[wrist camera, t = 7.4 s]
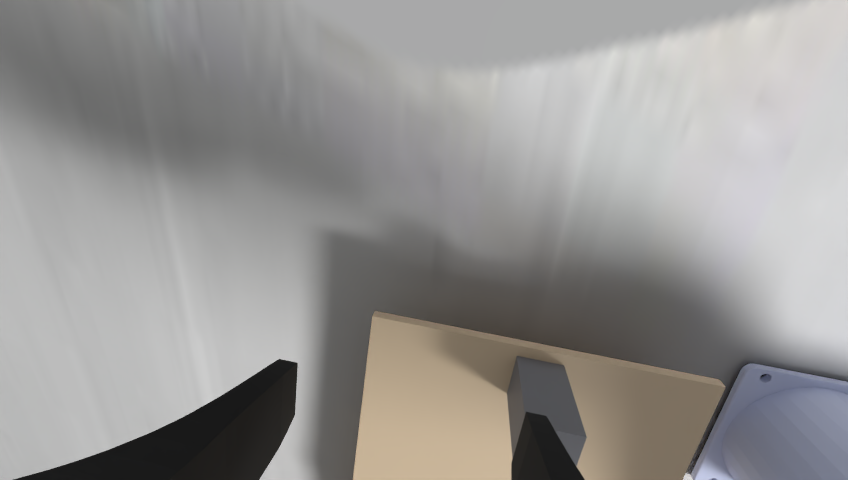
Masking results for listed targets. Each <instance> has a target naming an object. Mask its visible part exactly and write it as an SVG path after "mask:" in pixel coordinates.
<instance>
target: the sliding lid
mask: <svg viewBox="0 0 848 480" xmlns="http://www.w3.org/2000/svg"><path fill="white" fill-rule="evenodd" d="M725 388H726V387H725V385H724V384H723V383H722V382H721V381H720V380H719V379H715V378H710V377H705V376H700V375H695V374H690V373H685V372H680V371H675V370H670V369H665V368H660V367H655V366H650V365H645V364H640V363H635V362H630V361H625V360H620V359H615V358H609V357H604V356H599V355H594V354H589V353H584V352H579V351H574V350H569V349H564V348H559V347H554V346H549V345H544V344H539V343H534V342H529V341H524V340H519V339H514V338H509V337H504V336H499V335H494V334H489V333H484V332H479V331H474V330H469V329H464V328H459V327H454V326H449V325H444V324H439V323H434V322H429V321H424V320H419V319H414V318H409V317H404V316H399V315H394V314H389V313H384V312H379V311H375V312H374V314H373V316H372V322H371V331H370V339H369V348H368V356H367V364H366V373H365V381H364V389H363V398H362V406H361V414H360V423H359V431H358V440H357V448H356V456H355V465H354V473H353V480H511V463H512V459H513V456H514V452H515V449H516V445H517V442H518V438H519V435H520V431H521V428H522V424H523V420H524V417H525V413H526V412H530V413H535V414H540V415H544V416H547V418H548V419H549V421H550V423H551V424H552V426H553V428H554V430H555V431H556V433H557V435H558V437H559V438H560V440H561V442H562V443H563V445H564V447H565V448H566V450H567V452H568V454H569V455H570V457H571V459H572V460H573V462H574V463H575V465H576V467H577V468H578V470H579V471H580V473H581V474H582V476H583V478H584V479H585V480H682V479H683V477H684V475H685V473H686V471H687V469H688V467H689V464H690V462H691V460H692V458H693V456H694V454H695V452H696V450H697V448H698V445H699V443H700V441H701V439H702V437H703V435H704V433H705V431H706V428H707V426H708V424H709V422H710V420H711V418H712V416H713V414H714V411H715V409H716V407H717V405H718V403H719V401H720V399H721V397H722V394H723V392H724V390H725Z"/></svg>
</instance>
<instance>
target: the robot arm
mask: <svg viewBox="0 0 848 480" xmlns="http://www.w3.org/2000/svg"><path fill="white" fill-rule="evenodd" d="M297 364H298V363H295V362H291V361H286V360H281V359H279V360H277V361H275V362H274V363H272V364H271V365H269V366H267V367H266V368H264V369H263V370H261V371H260V372H258V373H257V374H255V375H254V376H252V377H251V378H249V379H247V380H246V381H244V382H243V383H241V384H240V385H238V386H236V387H235V388H233V389H232V390H230V391H228V392H227V393H225V394H224V395H222V396H220V397H219V398H217V399H215V400H213V401H212V402H210V403H208V404H206V405H204V406H203V407H201V408H199V409H197V410H196V411H194V412H192V413H190V414H188V415H186V416H185V417H183V418H181V419H179V420H177V421H175V422H173V423H170V424H168V425H166V426H164V427H162V428H160V429H158V430H156V431H153V432H151V433H149V434H147V435H144V436H142V437H139V438H137V439H134V440H132V441H129V442H127V443H125V444H122V445H120V446H117V447H115V448H112V449H110V450H107V451H104V452H102V453H99V454H96V455H93V456H90V457H87V458H85V459H82V460H79V461H75V462H72V463H69V464H66V465H63V466H60V467H57V468H53V469H50V470H47V471H43V472H40V473H36V474H32V475H29V476H25V477H21V478H18V479H14V480H259V479H260V477H261V476H262V474H263V473H264V471H265V469H266V468H267V466H268V465H269V463H270V461H271V460H272V458H273V456H274V455H275V453H276V452H277V450H278V448H279V447H280V445H281V443H282V441H283V439H284V437H285V435H286V433H287V431H288V428H289V426H290V424H291V422H292V420H293V418H294V415H295V402H296V383H297ZM763 374H766V375H765V376H764V377H762V378H760V377H761V375H763ZM691 476H692V479H693V480H848V382H846V381H841V380H836V379H831V378H826V377H821V376H816V375H811V374H805V373H800V372H795V371H790V370H785V369H780V368H775V367H770V366H764V365H759V364H747V365H745V366H744V367H743V368H742V369H741V370H740V372H739V375H738V377H737V379H736V381H735V383H734V385H733V387H732V389H731V391H730V393H729V395H728V398H727V400H726V402H725V404H724V406H723V408H722V410H721V412H720V414H719V416H718V419H717V421H716V423H715V425H714V427H713V429H712V431H711V433H710V435H709V437H708V439H707V442H706V444H705V446H704V448H703V450H702V452H701V454H700V456H699V458H698V460H697V462H696V465H695V467H694V469H693V471H692V473H691ZM712 478H713V479H712ZM511 480H585V479H584V478H583V476H582V474H581V473H580V471H579V470H578V468H577V467H576V465H575V463H574V462H573V460H572V459H571V457H570V455H569V454H568V452H567V450H566V448H565V447H564V445H563V443H562V442H561V440H560V438H559V437H558V435H557V433H556V431H555V430H554V428H553V426H552V424H551V423H550V421H549V419H548V418H547V416H544V415H540V414H535V413H530V412H526V413H525V417H524V420H523V424H522V428H521V431H520V435H519V438H518V442H517V445H516V449H515V452H514V456H513V459H512V463H511Z"/></svg>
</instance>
